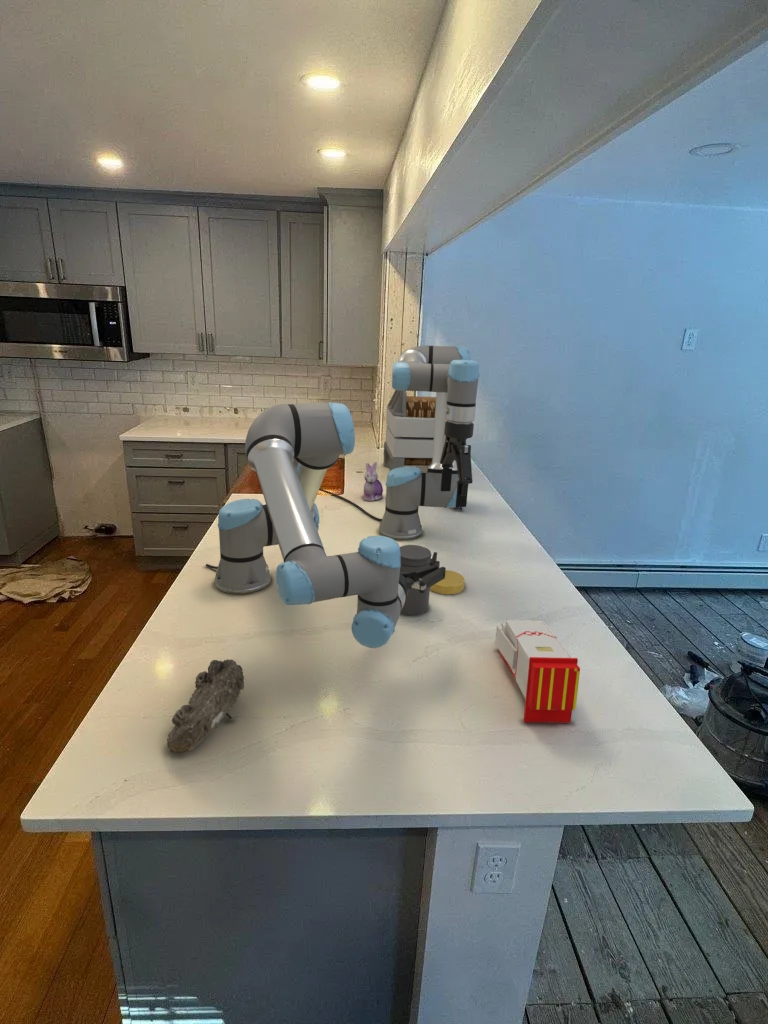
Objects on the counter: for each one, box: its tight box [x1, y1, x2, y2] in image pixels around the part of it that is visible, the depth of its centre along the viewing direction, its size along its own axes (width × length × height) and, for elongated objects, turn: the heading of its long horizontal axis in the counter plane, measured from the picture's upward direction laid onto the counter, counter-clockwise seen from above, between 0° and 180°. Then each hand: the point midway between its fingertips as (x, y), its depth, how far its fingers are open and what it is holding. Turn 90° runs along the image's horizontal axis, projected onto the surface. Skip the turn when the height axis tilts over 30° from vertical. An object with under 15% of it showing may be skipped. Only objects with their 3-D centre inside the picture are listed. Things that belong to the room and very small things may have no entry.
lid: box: [430, 569, 466, 595], centre depth 164 cm, size 11×11×2 cm
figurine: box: [362, 461, 384, 502], centre depth 233 cm, size 9×10×15 cm
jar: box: [400, 544, 433, 617], centre depth 149 cm, size 10×10×16 cm
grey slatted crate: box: [383, 389, 436, 472], centre depth 268 cm, size 34×33×41 cm
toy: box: [494, 619, 581, 724], centre depth 121 cm, size 12×13×30 cm
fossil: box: [166, 658, 245, 754], centre depth 106 cm, size 22×10×15 cm
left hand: (406, 553), depth 135 cm, fingers open, 13 cm apart
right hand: (452, 498), depth 155 cm, fingers open, 13 cm apart
